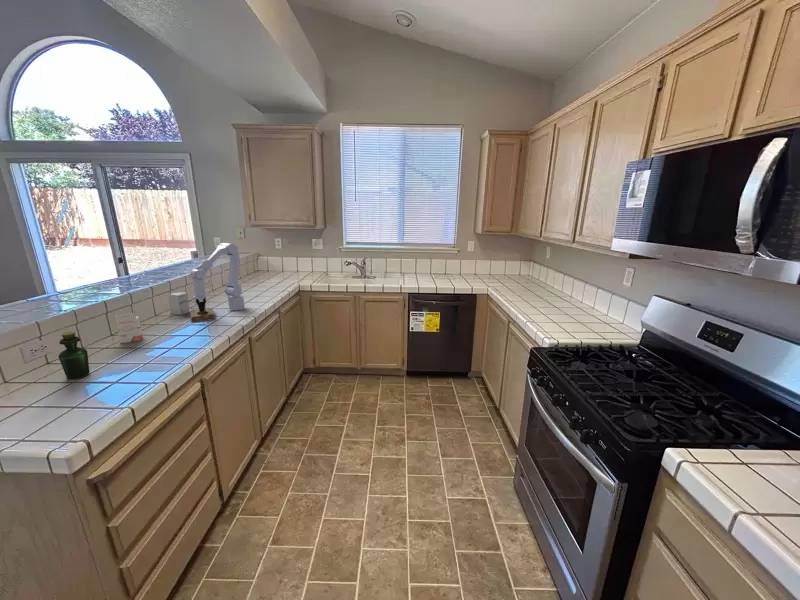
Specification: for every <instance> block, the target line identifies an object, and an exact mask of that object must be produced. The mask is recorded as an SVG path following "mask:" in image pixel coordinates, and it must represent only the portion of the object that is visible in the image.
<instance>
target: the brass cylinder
mask: <svg viewBox="0 0 800 600" xmlns="http://www.w3.org/2000/svg"><path fill="white" fill-rule="evenodd" d="M206 308H207V307H206V304H205V311H204V312H200V310H199V307H198V306H197V309H198V311H199V315H201V314H207V313H206Z"/></svg>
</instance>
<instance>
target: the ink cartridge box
mask: <svg viewBox="0 0 800 600" xmlns="http://www.w3.org/2000/svg"><path fill="white" fill-rule="evenodd" d="M114 317H115V325H116V330H117V334H118V339H119V343H120V344H124V343H132V342H140V341H142V340H143V339H144V336H143V332H142V325H141V322H140V321H141V320H140V317H139V315H137V314H136V313H135V312H130V313H120V314H115V315H114Z"/></svg>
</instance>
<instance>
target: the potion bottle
mask: <svg viewBox="0 0 800 600" xmlns="http://www.w3.org/2000/svg"><path fill="white" fill-rule="evenodd" d="M61 337H62V338H61V339H60V340H59V344H60V345H61V346H62V345H64V347H65V349H64V350H61V352H60V353H59V354H58V357H57V358H58V359H59V362H60V364H61V367H62V370H63V372H64V374H65V378H66V379H68V380H79V379H82V378H85V377H87V376H88V375H89V374H90V367H89V366H90V364H89V355H88V354H89V353H88V350H87V349H86V348H85V347H79V346H78V343H79V342H80V341H81V338H80V337H79V336H77V335H76V332H75V331H66V332H62V333H61Z"/></svg>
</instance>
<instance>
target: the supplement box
mask: <svg viewBox="0 0 800 600" xmlns="http://www.w3.org/2000/svg"><path fill="white" fill-rule="evenodd" d="M167 298H168V303H169V309H170V314H171V313H173V314H172V315H178V314H181V315H183V314H186V313H189V312H190V307H189V299H188V298H189V296H188V293H187V292H182V291H181V292H178V291H177V292H174V293H170V294H168V295H167ZM188 311H189V312H188Z"/></svg>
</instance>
